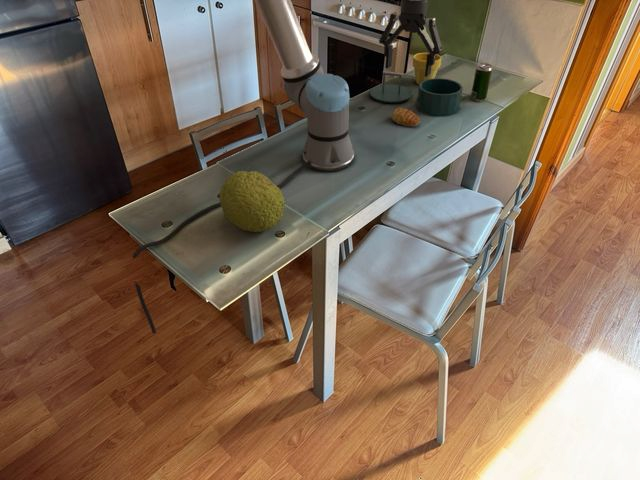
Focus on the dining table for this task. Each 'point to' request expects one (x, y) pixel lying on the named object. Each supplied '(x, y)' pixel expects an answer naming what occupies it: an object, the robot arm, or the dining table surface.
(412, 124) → the pastry
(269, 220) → the fruit
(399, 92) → the lid
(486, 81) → the beer can
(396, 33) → the robot arm
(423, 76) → the flower pot
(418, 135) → the dining table surface
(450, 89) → the pot
